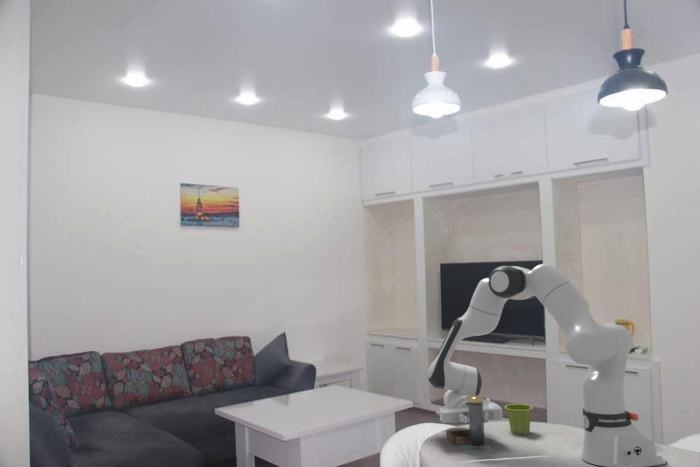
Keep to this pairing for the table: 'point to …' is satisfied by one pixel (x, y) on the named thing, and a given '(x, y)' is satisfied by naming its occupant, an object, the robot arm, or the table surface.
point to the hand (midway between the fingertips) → (477, 419)
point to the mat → (477, 449)
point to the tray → (459, 436)
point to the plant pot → (519, 417)
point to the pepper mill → (476, 420)
